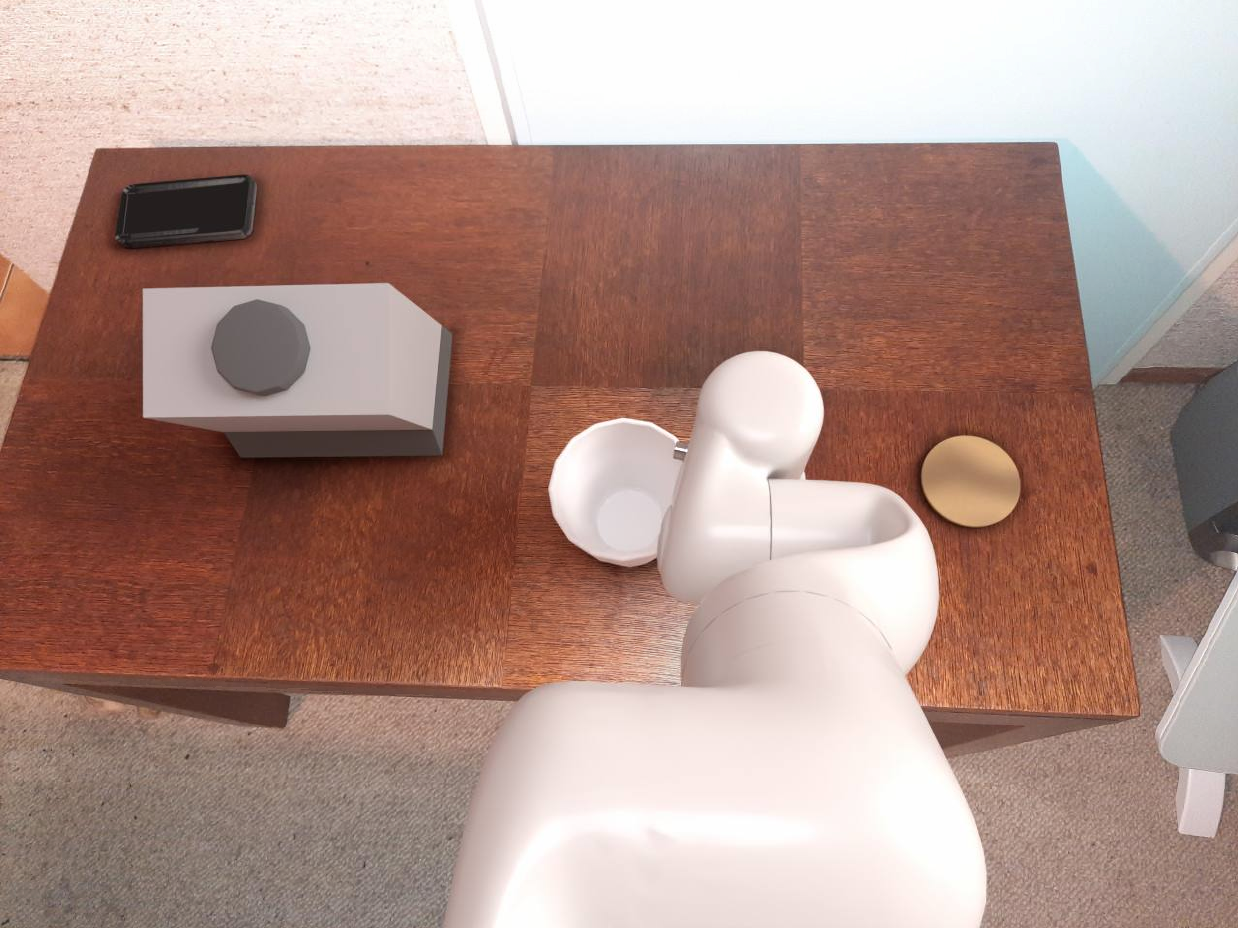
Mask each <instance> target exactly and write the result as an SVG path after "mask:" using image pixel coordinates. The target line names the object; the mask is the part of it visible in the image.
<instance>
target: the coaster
mask: <svg viewBox="0 0 1238 928" xmlns="http://www.w3.org/2000/svg"><path fill="white" fill-rule="evenodd" d="M1020 477H1021V476H1020V474H1019V470H1018V468H1017V467H1016V464H1015V462H1014V460H1013V459H1012V458H1011V457H1010V455H1009V454H1008V453H1007V452H1006V451H1005V450H1004V449H1002V448H1001V447H1000V446H999V445H998V444H996V443H994V442H993V441H990V440H988V439H985V438H982V437H979V436H975V435H956V436H952V437H948V438H946V439H943V440H942V441H940V442H938V443H937V444H936V445H934V446H933V447H932V448H931V449H930V451H928V453H927V455H926V456H925V457H924V460H923V462H922V465H921V468H920V486H921V491H922V493H923V495H924V498H925V500H926V501H927V503H928V504H929V505H930V507H931V508H932V509H933V510H934V511H935V513H937V514H938V515H939V516H940V517H941V518H943V519H945V520H946V521H948V522H950V523H952V524H954V525H958V526H961V527H965V528H973V529H975V528H976V529H979V528H986V527H989V526H993V525H996V524H998V523H1000V522H1001V521H1003V520H1004V519H1005V518H1007V516H1009V515H1010V514H1011V513H1012V512H1013V510H1014V509H1015V507H1016V506H1017V504H1018V502H1019V498H1020V496H1021V478H1020Z"/></svg>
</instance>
